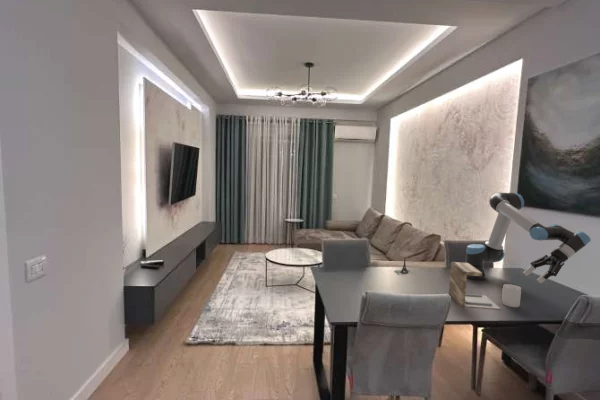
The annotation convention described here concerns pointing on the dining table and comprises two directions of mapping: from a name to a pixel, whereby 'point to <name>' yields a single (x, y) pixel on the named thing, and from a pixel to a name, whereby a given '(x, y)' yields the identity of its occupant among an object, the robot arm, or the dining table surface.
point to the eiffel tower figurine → (402, 270)
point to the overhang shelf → (460, 280)
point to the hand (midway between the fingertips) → (531, 277)
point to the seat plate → (479, 301)
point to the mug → (511, 295)
